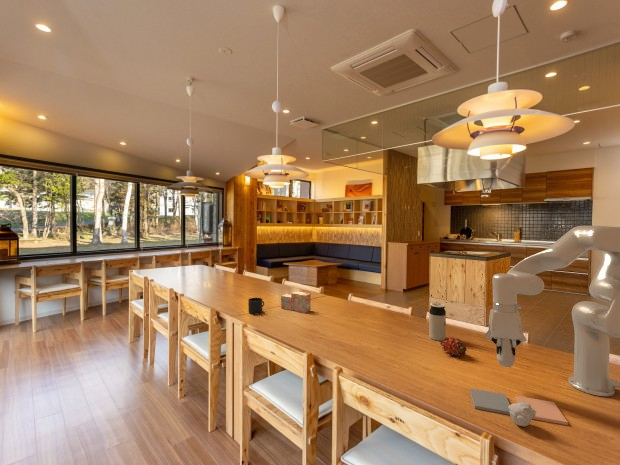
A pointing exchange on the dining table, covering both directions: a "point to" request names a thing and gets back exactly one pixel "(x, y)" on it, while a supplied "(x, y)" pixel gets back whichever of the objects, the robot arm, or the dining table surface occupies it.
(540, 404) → the terracotta tile
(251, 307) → the mug
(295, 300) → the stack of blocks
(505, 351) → the salt shaker
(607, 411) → the dining table surface
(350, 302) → the dining table surface
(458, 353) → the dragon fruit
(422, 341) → the dining table surface
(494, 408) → the slate tile
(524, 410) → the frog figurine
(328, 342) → the dining table surface
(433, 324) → the travel mug
